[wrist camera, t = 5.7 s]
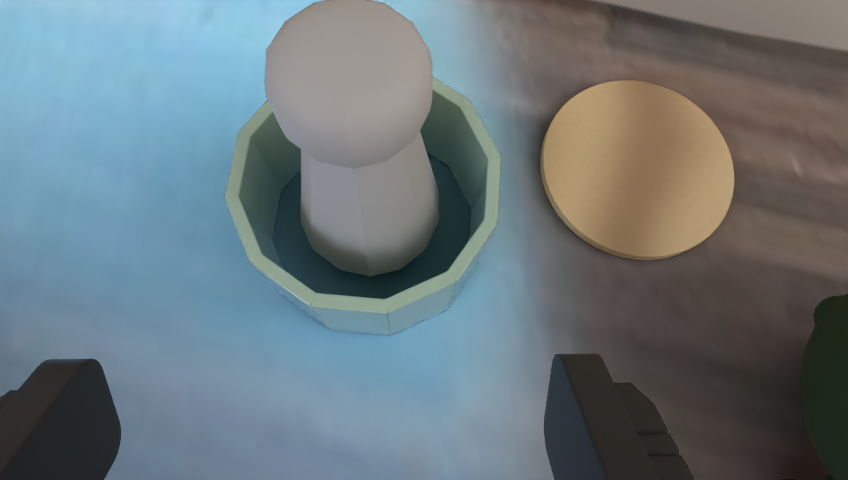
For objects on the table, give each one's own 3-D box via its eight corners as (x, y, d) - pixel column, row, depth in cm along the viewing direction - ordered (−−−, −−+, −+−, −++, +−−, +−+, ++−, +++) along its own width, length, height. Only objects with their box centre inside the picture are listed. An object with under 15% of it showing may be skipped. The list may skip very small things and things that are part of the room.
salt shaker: (282, 234, 26) (168, 65, 13) (363, 144, 27) (328, -85, 15) (383, 313, 25) (362, 211, 12) (462, 216, 26) (513, 37, 14)
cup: (246, 322, 25) (203, 296, 19) (283, 119, 28) (254, 49, 22) (474, 343, 25) (492, 323, 19) (486, 138, 28) (505, 72, 22)
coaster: (537, 251, 26) (540, 247, 25) (542, 78, 29) (545, 71, 28) (734, 269, 26) (742, 265, 25) (721, 95, 29) (727, 88, 28)
